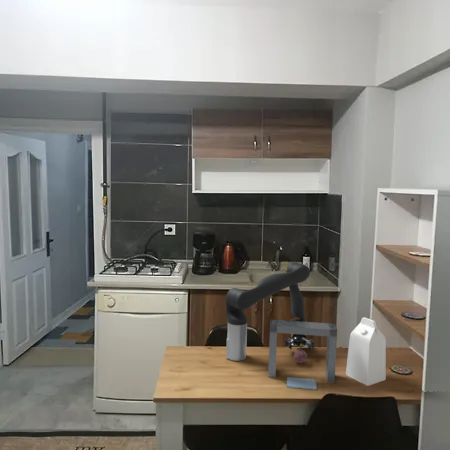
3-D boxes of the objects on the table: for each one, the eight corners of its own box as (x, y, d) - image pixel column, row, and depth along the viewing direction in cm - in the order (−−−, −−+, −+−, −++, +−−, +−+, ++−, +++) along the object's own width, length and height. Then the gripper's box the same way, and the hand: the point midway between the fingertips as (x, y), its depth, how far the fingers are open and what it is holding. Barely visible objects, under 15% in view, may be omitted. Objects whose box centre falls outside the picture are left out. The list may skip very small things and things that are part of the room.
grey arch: (268, 376, 183) (270, 325, 180) (269, 368, 191) (270, 319, 188) (334, 382, 179) (337, 330, 176) (332, 374, 187) (335, 323, 184)
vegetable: (296, 367, 193) (297, 346, 192) (291, 361, 199) (292, 341, 198) (308, 366, 194) (309, 345, 193) (303, 360, 200) (304, 340, 199)
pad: (286, 387, 174) (287, 385, 174) (286, 378, 182) (286, 377, 182) (316, 390, 172) (316, 388, 172) (315, 381, 180) (315, 379, 180)
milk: (385, 379, 183) (389, 321, 180) (367, 385, 177) (370, 325, 174) (363, 369, 193) (366, 313, 190) (345, 374, 187) (348, 317, 184)
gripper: (285, 327, 217) (285, 339, 201) (313, 329, 215) (315, 341, 199) (284, 342, 217) (284, 354, 201) (312, 344, 215) (315, 356, 199)
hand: (300, 348), depth 200 cm, fingers open, 8 cm apart
